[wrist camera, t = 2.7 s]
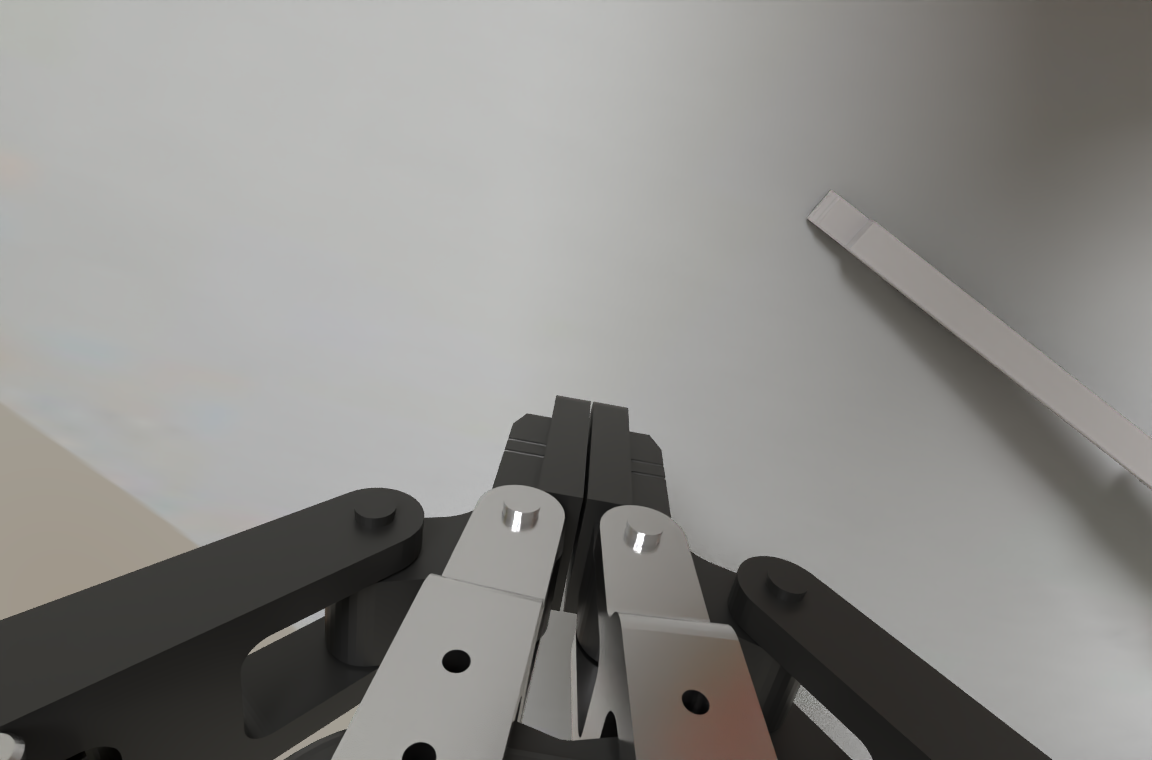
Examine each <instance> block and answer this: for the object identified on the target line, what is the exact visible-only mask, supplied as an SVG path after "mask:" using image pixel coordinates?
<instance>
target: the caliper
mask: <svg viewBox="0 0 1152 760" xmlns="http://www.w3.org/2000/svg"><path fill="white" fill-rule="evenodd" d="M807 219H808V220H810V221H811V222H812V223H813V224H815V225H816V226H817V227H819V228H820V229H821V230H822V231H824V232H825V233H826V234H827V235H829V236H830V237H831V238H833V239H834V240H835V241H836V242H838V243H839V244H840V245H841V246H842V247H844V248H845V249H846V250H847V251H849V252H850V253H851V254H852V255H854V256H855V257H856V258H857V259H859V260H860V261H861V262H862V263H864V264H865V265H866V266H868V267H869V268H870V269H871V270H873V271H874V272H875V273H876V274H878V275H879V276H880V277H881V278H883V279H884V280H885V281H887V282H888V283H889V284H890V285H892V286H893V287H894V288H895V289H897V290H898V291H899V292H901V293H902V294H903V295H904V296H906V297H907V298H908V299H910V300H911V301H912V302H913V303H915V304H916V305H917V306H918V307H920V308H921V309H922V310H924V311H925V312H926V313H927V314H929V315H930V316H931V317H932V318H934V319H935V320H936V321H938V322H939V323H940V324H941V325H943V326H944V327H945V328H947V329H948V330H949V331H950V332H952V333H953V334H954V335H955V336H957V337H958V338H959V339H961V340H962V341H963V342H964V343H966V344H967V345H968V346H970V347H971V348H972V349H973V350H975V351H976V352H977V353H978V354H980V355H981V356H982V357H984V358H985V359H986V360H987V361H989V362H990V363H991V364H993V365H994V366H995V367H996V368H998V369H999V370H1000V371H1001V372H1003V373H1004V374H1005V375H1007V376H1008V377H1009V378H1010V379H1012V380H1013V381H1014V382H1016V383H1017V384H1018V385H1019V386H1021V387H1022V388H1023V389H1024V390H1026V391H1027V392H1028V393H1030V394H1031V395H1032V396H1033V397H1035V398H1036V399H1037V400H1038V401H1040V402H1041V403H1042V404H1044V405H1045V406H1046V407H1047V408H1049V409H1050V410H1051V411H1053V412H1054V413H1055V414H1056V415H1058V416H1059V417H1060V418H1061V419H1063V420H1064V421H1065V422H1067V423H1068V424H1069V425H1070V426H1072V427H1073V428H1074V429H1076V430H1077V431H1078V432H1079V433H1081V434H1082V435H1083V436H1084V437H1086V438H1087V439H1088V440H1090V441H1091V442H1092V443H1093V444H1095V445H1096V446H1097V447H1098V448H1100V449H1101V450H1102V451H1104V452H1105V453H1106V454H1107V455H1109V456H1110V457H1111V458H1113V459H1114V460H1115V461H1116V462H1118V463H1119V464H1120V465H1121V466H1123V467H1124V468H1125V469H1127V470H1128V471H1129V472H1130V473H1132V474H1133V475H1134V476H1135V477H1137V478H1138V479H1139V481H1140V482H1142V483H1143V484H1144V485H1146V486H1147V487H1148V488H1149V489H1151V490H1152V438H1150V437H1149V436H1148V435H1147V434H1145V433H1144V432H1143V431H1142V430H1140V429H1139V428H1138V427H1136V426H1135V425H1134V424H1133V423H1131V422H1130V421H1129V420H1128V419H1126V418H1125V417H1124V416H1122V415H1121V414H1120V413H1119V412H1117V411H1116V410H1115V409H1114V408H1112V407H1111V406H1110V405H1108V404H1107V403H1106V402H1105V401H1103V400H1102V399H1101V398H1100V397H1098V396H1097V395H1096V394H1094V393H1093V392H1092V391H1091V390H1089V389H1088V388H1087V387H1086V386H1084V385H1083V384H1082V383H1080V382H1079V381H1078V380H1077V379H1075V378H1074V377H1073V376H1072V375H1070V374H1069V373H1068V372H1066V371H1065V370H1064V369H1063V368H1061V367H1060V366H1059V365H1058V364H1056V363H1055V362H1054V361H1052V360H1051V359H1050V358H1049V357H1047V356H1046V355H1045V354H1044V353H1042V352H1041V351H1040V350H1038V349H1037V348H1036V347H1035V346H1033V345H1032V344H1031V343H1030V342H1028V341H1027V340H1026V339H1024V338H1023V337H1022V336H1021V335H1019V334H1018V333H1017V332H1016V331H1014V330H1013V329H1012V328H1010V327H1009V326H1008V325H1007V324H1005V323H1004V322H1003V321H1002V320H1000V319H999V318H998V317H996V316H995V315H994V314H993V313H991V312H990V311H989V310H988V309H986V308H985V307H984V306H982V305H981V304H980V303H979V302H977V301H976V300H975V299H974V298H972V297H971V296H970V295H968V294H967V293H966V292H965V291H963V290H962V289H961V288H960V287H958V286H957V285H956V284H954V283H953V282H952V281H951V280H949V279H948V278H947V277H946V276H944V275H943V274H942V273H940V272H939V271H938V270H937V269H935V268H934V267H933V266H932V265H930V264H929V263H928V262H926V261H925V260H924V259H923V258H921V257H920V256H919V255H918V254H916V253H915V252H914V251H912V250H911V249H910V248H909V247H907V246H906V245H905V244H903V243H902V242H901V241H900V240H898V239H897V238H896V237H895V236H893V235H892V234H891V233H889V232H888V231H887V230H886V229H884V228H883V227H882V226H881V225H879V224H878V223H877V222H875V221H874V220H871V219H869V218H868V217H866V216H865V215H864V214H863V213H861V212H860V211H859V210H857V209H856V208H855V207H854V206H852V205H851V204H850V203H849V202H847V201H846V200H845V199H843V198H842V197H841V196H839V195H838V194H836V193H835V192H834V191H832V190H830V191H829V193H828V194H827V195H826V196H825V197H824V198H823V200H822V201H821V202H820V203H819V204H818V205H817V207H816V208H815V209H814V210H813V211H812V212H811V214H810V215H809V216H808V217H807Z"/></svg>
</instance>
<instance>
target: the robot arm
mask: <svg viewBox="0 0 1152 760" xmlns="http://www.w3.org/2000/svg"><path fill="white" fill-rule="evenodd" d="M590 405H591V401H586V400H580V399H575V398H569V397H563V396H558V395H556V400H555V405H554V410H553V415H552V418H549V417H544V416H538V415H532V414H526V415H524V416H523V417H522V418H520V419H519V420H517V421H516V422H515V423H513V426H512V429H511V432H510V435H509V439H508V441H507V444H506V447H505V451H504V454H503V457H502V460H501V463H500V466H499V469H498V472H497V475H496V478H495V481H494V485H493V488H492V489H491V490H489V491H487V492H486V493H484V494H483V495H482V496H481V497H480V499H479V500H478V502H477V504H476V506H475V508H474V510H473V511H471V512H468V513H465V514H462V515H457V516H451V517H434V518H424V511H423V508H422V506H421V505H420V503H419V502H418V501H417V500H416V499H414V498H413V497H412V496H410V495H408V494H406V493H404V492H401V491H398V490H393V489H388V488H366V489H361V490H356V491H353V492H349V493H347V494H344V495H341V496H339V497H336V498H333V499H330V500H328V501H325V502H322V503H319V504H317V505H314V506H311V507H309V508H306V509H303V510H300V511H298V512H295V513H292V514H289V515H287V516H284V517H281V518H279V519H276V520H273V521H270V522H268V523H265V524H262V525H259V526H257V527H254V528H251V529H249V530H246V531H243V532H240V533H238V534H235V535H232V536H229V537H227V538H224V539H221V540H218V541H216V542H213V543H210V544H208V545H205V546H202V547H199V548H197V549H194V550H191V551H189V552H186V553H183V554H180V555H178V556H175V557H172V558H170V559H167V560H164V561H162V562H159V563H156V564H153V565H151V566H148V567H145V568H142V569H139V570H137V571H134V572H131V573H128V574H126V575H124V576H120V577H118V578H115V579H112V580H109V581H107V582H104V583H101V584H98V585H96V586H93V587H90V588H88V589H85V590H82V591H80V592H77V593H74V594H71V595H68V596H66V597H63V598H60V599H57V600H55V601H52V602H49V603H47V604H44V605H41V606H38V607H36V608H33V609H30V610H28V611H25V612H22V613H19V614H17V615H14V616H11V617H8V618H6V619H3V620H0V760H273V759H275V758H277V757H278V756H280V755H281V754H283V753H284V752H286V751H287V750H289V749H290V748H292V747H293V746H295V745H296V744H298V743H300V742H301V741H303V740H304V739H306V738H307V737H309V736H310V735H312V734H314V733H315V732H317V731H318V730H320V729H321V728H323V727H324V726H326V725H327V724H329V723H330V722H332V721H334V720H335V719H337V718H338V717H340V716H341V715H343V714H344V713H346V712H348V711H349V710H350V709H352V708H354V707H355V706H357V705H358V704H360V705H359V707H358V709H357V711H356V713H355V715H354V717H353V718H352V720H351V722H350V724H349V726H348V728H347V729H346V730H342V731H339V732H336V733H334V734H331V735H329V736H327V737H324V738H322V739H319V740H317V741H315V742H313V743H311V744H310V745H308V746H306V747H304V748H302V749H301V750H299V751H297V752H295V753H294V754H292V755H290V756H289V757H288V758H286V759H284V760H852V759H851V758H850V757H849V756H848V755H847V754H846V753H845V752H844V751H843V750H842V749H841V748H839V747H838V746H837V745H836V744H835V743H834V742H833V741H832V740H831V739H830V738H829V737H828V736H827V735H826V734H825V733H824V732H823V731H822V730H821V729H820V728H819V727H818V726H817V725H816V724H815V723H814V722H813V721H812V720H811V719H810V718H809V717H808V716H807V715H806V714H805V713H804V712H803V711H801V710H800V709H799V708H798V707H797V706H796V705H795V704H794V703H793V701H794V698H795V696H796V694H797V692H798V689H799V687H800V685H802V686H803V687H804V688H805V689H807V690H808V691H809V692H810V693H811V694H812V695H813V696H814V697H815V698H816V699H817V700H818V701H819V702H820V703H821V704H823V705H824V706H825V707H826V708H827V709H828V710H829V711H830V712H831V713H832V714H833V715H834V716H835V717H836V718H837V719H839V720H840V721H841V722H842V723H843V724H844V725H845V726H846V727H847V728H848V729H849V730H850V731H851V732H852V733H853V734H855V735H856V736H857V737H858V738H859V739H860V740H861V741H862V743H863V744H864V745H865V746H866V748H867V749H868V751H869V753H870V755H871V757H872V759H873V760H1052V759H1051V758H1049V757H1048V756H1047V755H1046V754H1044V753H1043V752H1042V751H1040V750H1039V749H1038V748H1037V747H1035V746H1034V745H1033V744H1031V743H1030V742H1029V741H1027V740H1026V739H1025V738H1024V737H1022V736H1021V735H1020V734H1018V733H1017V732H1016V731H1014V730H1013V729H1012V728H1011V727H1009V726H1008V725H1007V724H1005V723H1004V722H1003V721H1002V720H1000V719H999V718H998V717H996V716H995V715H994V714H992V713H991V712H990V711H989V710H987V709H986V708H985V707H983V706H982V705H981V704H980V703H978V702H977V701H976V700H974V699H973V698H972V697H970V696H969V695H968V694H967V693H965V692H964V691H963V690H961V689H960V688H959V687H957V686H956V685H955V684H954V683H952V682H951V681H950V680H948V679H947V678H946V677H945V676H943V675H942V674H941V673H939V672H938V671H937V670H935V669H934V668H933V667H932V666H930V665H929V664H928V663H926V662H925V661H924V660H922V659H921V658H920V657H919V656H917V655H916V654H915V653H913V652H912V651H911V650H910V649H908V648H907V647H906V646H904V645H903V644H902V643H900V642H899V641H898V640H897V639H895V638H894V637H893V636H891V635H890V634H889V633H887V632H886V631H885V630H884V629H882V628H881V627H880V626H878V625H877V624H876V623H875V622H873V621H872V620H871V619H869V618H868V617H867V616H865V615H864V614H863V613H862V612H860V611H859V610H858V609H856V608H855V607H854V606H852V605H851V604H850V603H849V602H847V601H846V600H845V599H843V598H842V597H841V596H840V595H838V594H837V593H836V592H834V591H833V590H832V589H830V588H829V587H828V586H827V585H825V584H824V583H823V582H821V581H820V580H819V579H818V578H816V577H815V576H814V575H812V574H811V573H809V572H808V571H807V570H805V569H803V568H802V567H800V566H798V565H796V564H794V563H791V562H789V561H786V560H783V559H779V558H775V557H769V556H758V557H752V558H749V559H747V560H745V561H744V562H743V563H742V564H741V565H740V567H739V568H738V571H737V573H735V572H732V571H730V570H727V569H725V568H722V567H720V566H717V565H715V564H712V563H710V562H708V561H706V560H704V559H702V558H700V557H698V556H697V555H695V554H694V553H692V552H691V551H690V549H689V545H688V542H687V538H686V536H685V533H684V531H683V530H682V528H681V527H680V526H679V525H678V524H677V523H676V522H675V521H674V520H673V519H671V515H670V508H669V501H668V494H667V487H666V480H665V473H664V467H663V459H662V452H661V449H660V448H659V446H658V445H657V444H656V443H655V441H654V440H653V439H652V438H651V437H650V435H646V434H640V433H634V432H629V416H628V408H626V407H620V406H614V405H609V404H603V403H598V402H593V405H592V409H591V413H590ZM589 417H590V418H589ZM566 578H567V581H566ZM565 583H566V591H565V601H564V612H570V613H575V614H577V625H576V630H575V635H574V639H573V644H572V648H571V722H572V741H566V740H560V739H557V738H554V737H552V736H550V735H547V734H545V733H543V732H541V731H538V730H536V729H534V728H531V727H529V726H527V725H524V724H522V719H523V714H524V710H525V706H526V702H527V697H528V693H529V689H530V685H531V680H532V676H533V672H534V668H535V663H536V659H537V655H538V651H539V646H540V641H541V637H542V636H543V635H544V633H545V631H546V629H547V626H548V621H549V616H550V611H551V610H557V611H560V606H561V602H562V597H563V592H564V587H565ZM324 608H325V616H324V617H322V618H320V619H318V620H316V621H314V622H312V623H311V624H309V625H307V626H305V627H303V628H301V629H299V630H297V631H295V632H293V633H291V634H289V635H287V636H285V637H283V638H281V639H279V640H277V641H275V642H273V643H271V644H269V645H267V646H266V647H263V648H261V649H260V650H258V651H256V652H254V653H252V654H250V655H248V654H249V652H250V651H251V650H252V649H253V648H254V647H255V646H256V645H257V644H258V643H259V642H261V641H262V640H263V639H265V638H266V637H268V636H270V635H272V634H274V633H276V632H278V631H280V630H282V629H284V628H286V627H288V626H290V625H292V624H294V623H296V622H298V621H300V620H302V619H304V618H306V617H308V616H310V615H312V614H314V613H316V612H318V611H320V610H322V609H324ZM247 655H248V656H247Z"/></svg>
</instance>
